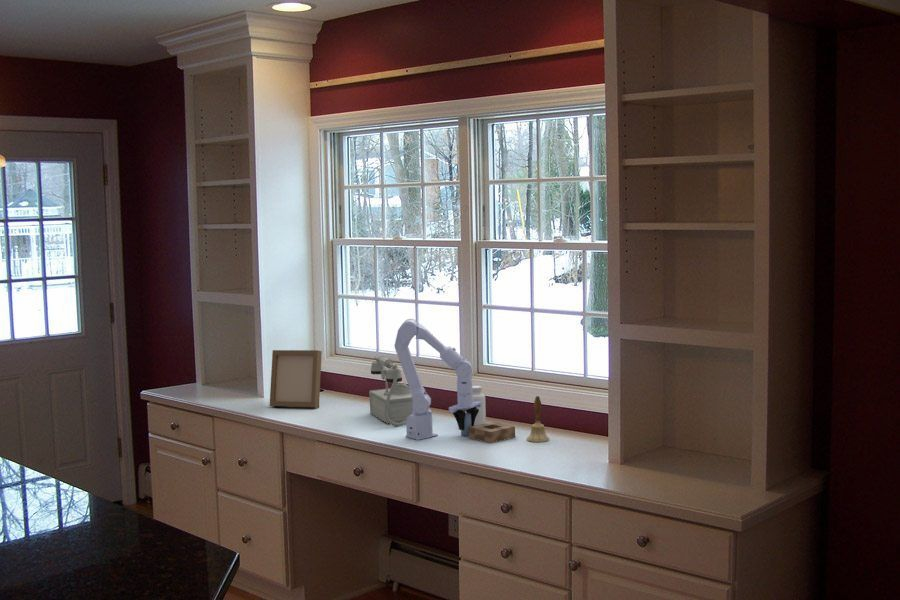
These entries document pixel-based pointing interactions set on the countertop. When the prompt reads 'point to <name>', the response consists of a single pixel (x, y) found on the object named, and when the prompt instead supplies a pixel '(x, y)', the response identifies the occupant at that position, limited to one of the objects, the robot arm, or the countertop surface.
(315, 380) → the photo frame
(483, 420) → the pill bottle
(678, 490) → the countertop surface
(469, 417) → the peg
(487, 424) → the socket block
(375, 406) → the grey machine
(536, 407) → the hand bell
